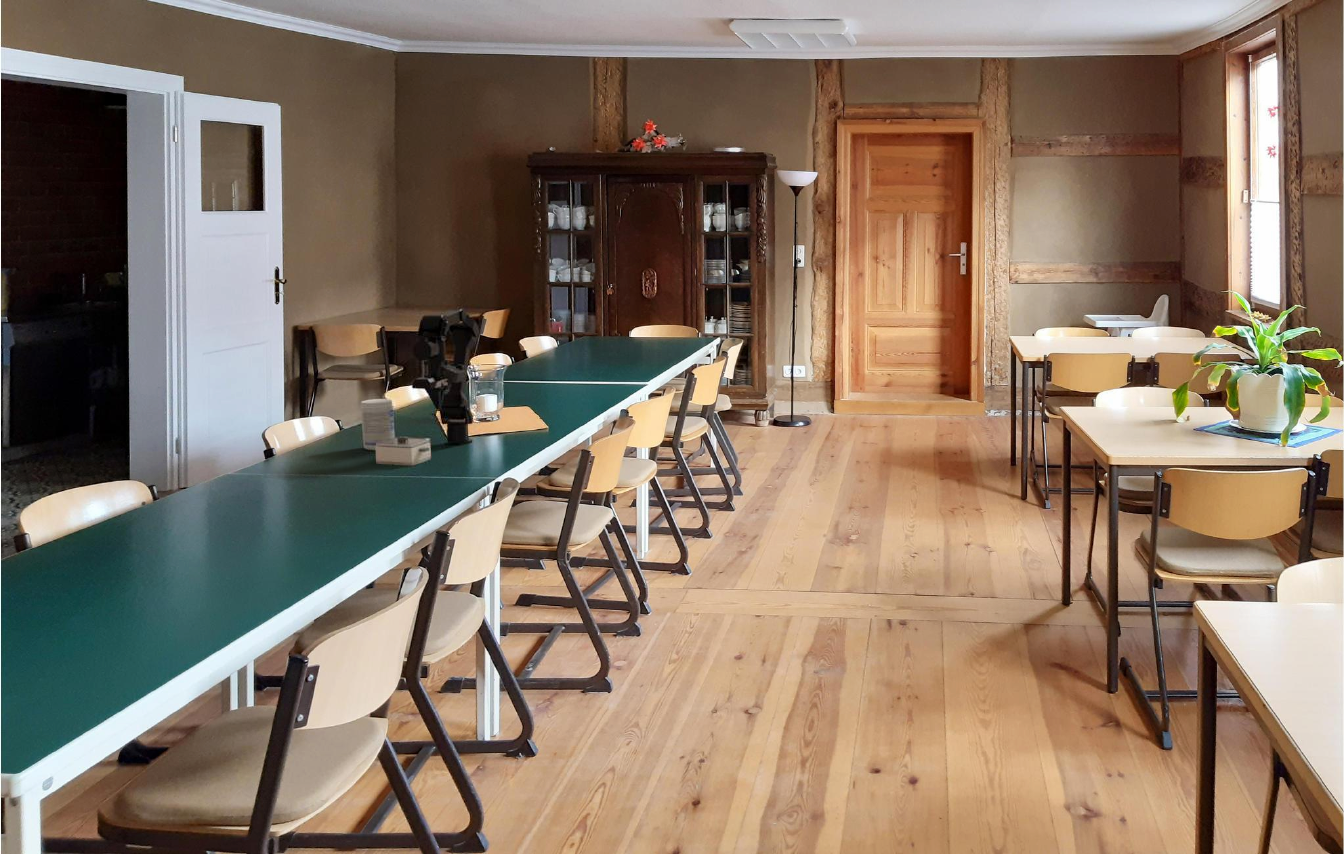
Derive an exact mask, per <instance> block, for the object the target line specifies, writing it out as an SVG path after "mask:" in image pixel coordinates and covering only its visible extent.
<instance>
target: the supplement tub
mask: <svg viewBox="0 0 1344 854" xmlns="http://www.w3.org/2000/svg"><path fill="white" fill-rule="evenodd" d="M360 413H361V428H362V443H363V448H364V449H365V450H369V451H376V448H375V446H376V443H379V442H382V441H385V440H388V439H392V438H395V437H396V436H395V435H396V434H395V420H394V419H395V418H394V408H393V400H392V399H388V398H375V399H365V400H362V401H361V402H360Z"/></svg>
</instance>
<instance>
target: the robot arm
mask: <svg viewBox="0 0 1344 854" xmlns="http://www.w3.org/2000/svg"><path fill="white" fill-rule="evenodd" d="M418 325H419V326H418V330H417V334H416V339H417V340H418V341H417V342H415V344H414V345H413V348H412V354H413V356H414V357H415V358H416V359H417V360H419V361H423V363H422V364H423V365H426V374H424V375H423V377H418V378H417V377H416V378H414V379H413V380H412V381H411V388H412V389H416V390H417V389H419V390H420V389H421V390H425V392H426V394H427V395H428V396H429V398H430V400H431V402H432V404H433V406H434V408H435V409H436V410H439V415H440V421H441V424H442V425H446V441H444V442H443V444H446V445H456V446H461V445H465V444H469V443H473V440H472V439H469V425H472V424H473V421H474V415H473V413H472V411H471V409H470V407H469V401H468V399H467V397H466V395H465V393H466V391H465V390H466V384H467V376H468V369H469V361H470V354H471V353H470V352H471V351H472V349H473V348H474V347H475V346H476V345H477V341H478V337H479V334H480V329H479V325H478V324H477V322H476V320H475V318H473V317H472V316H470V315H469V314H467V312H466V310H465V309H463V308H451V309H447V311H444V312H441V313H439V314H424V315H422V318H421V319H420V321H419V324H418ZM447 333H449V334H450V340H451V342H452V344H453V346H454V352H453V361H452V365H451V364H450V360H449V359H446V355H447V354H446V342H445V341H446V340H447V338H446V335H447ZM448 382H449V384H448ZM447 390H448V391H447ZM446 392H447V393H446Z"/></svg>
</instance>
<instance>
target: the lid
mask: <svg viewBox="0 0 1344 854" xmlns="http://www.w3.org/2000/svg"><path fill="white" fill-rule="evenodd" d="M426 442H430V443H431V439H430V438H421V437H417V438H416V437H408V436H404V435H403V436H395V438H392V439H388V440H385V441H382V442H379V443H376V446H394V447H414V446H417V445H420V444H423V443H426Z"/></svg>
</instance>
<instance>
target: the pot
mask: <svg viewBox="0 0 1344 854" xmlns="http://www.w3.org/2000/svg"><path fill="white" fill-rule="evenodd" d="M375 448H376V450H375V460H376V461H375V463H376V464H377V465H379V464H381V465H392V464H393V465H397V466H410V467H411V466H412V467H413V466H415V465H418V464H421V463H424V462H427V461H430V460H431V459H432V454H431V453H432V451H431V441H430V442H426V443H423V444H420V445H417V446H414V447H394V446H375Z"/></svg>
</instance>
